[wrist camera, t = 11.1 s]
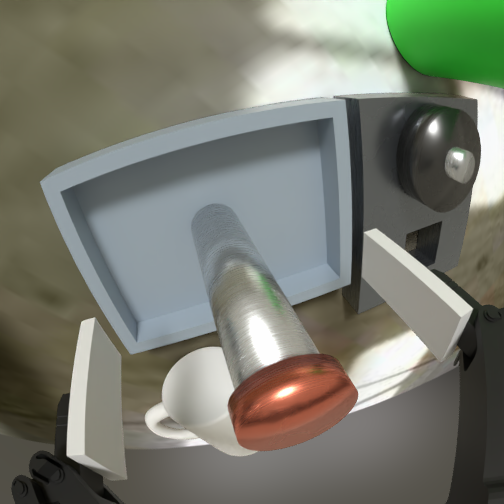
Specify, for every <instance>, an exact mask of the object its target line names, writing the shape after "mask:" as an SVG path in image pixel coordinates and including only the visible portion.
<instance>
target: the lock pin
mask: <svg viewBox="0 0 504 504" xmlns="http://www.w3.org/2000/svg"><path fill="white" fill-rule="evenodd" d="M191 232H192V236H193V241H194V245H195V249H196V253H197V257H198V261H199V265H200V269H201V273H202V277H203V281H204V285H205V289H206V293H207V296H208V300H209V304H210V308H211V311H212V315H213V319H214V322H215V326H216V329H217V333H218V336H219V340H220V343H221V347H222V350H223V354H224V357H225V360H226V364H227V367H228V370H229V374H230V377H231V380H232V383H233V387H234V392H233V393H232V394H231V396H230V398H229V401H228V405H227V406H228V412H229V415H230V419H231V422H232V425H233V429H234V432H235V435H236V438H237V441H238V444H239V445H240V446H242V447H243V448H245V449H248V450H254V451H270V450H277V449H282V448H287V447H290V446H293V445H297V444H300V443H302V442H305V441H307V440H310V439H312V438H314V437H316V436H318V435H320V434H321V433H323V432H325V431H327V430H328V429H330V428H331V427H333V426H334V425H335V424H337V423H338V422H339V421H341V420H342V419H343V418H344V417H345V416H346V415H347V414H348V413H349V412H350V411H351V410H352V408H353V407H354V405H355V403H356V401H357V399H358V391H357V390H356V388H355V386H354V385H353V383H352V381H351V380H350V378H349V377H348V375H347V374H346V372H345V370H344V369H343V367H342V366H341V364H340V362H339V361H338V360H337V359H336V358H334V357H332V356H330V355H326V354H320V353H319V351H318V350H317V348H316V346H315V345H314V343H313V341H312V340H311V338H310V336H309V334H308V333H307V331H306V329H305V328H304V326H303V324H302V323H301V321H300V319H299V318H298V316H297V314H296V313H295V311H294V309H293V308H292V306H291V304H290V303H289V301H288V299H287V298H286V296H285V294H284V293H283V291H282V289H281V288H280V286H279V284H278V283H277V281H276V279H275V278H274V276H273V274H272V273H271V271H270V269H269V268H268V266H267V264H266V263H265V261H264V260H263V258H262V256H261V255H260V253H259V251H258V250H257V248H256V246H255V245H254V243H253V241H252V240H251V238H250V236H249V235H248V233H247V231H246V230H245V228H244V226H243V225H242V223H241V221H240V220H239V218H238V217H237V215H236V213H235V212H234V211H233V210H232V209H231V208H230V207H228V206H226V205H224V204H219V203H215V204H209V205H206V206H204V207H203V208H201V209H200V210H199V211H198V212H197V213H196V214H195V215H194V217H193V219H192V222H191Z"/></svg>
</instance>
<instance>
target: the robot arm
mask: <svg viewBox="0 0 504 504" xmlns="http://www.w3.org/2000/svg"><path fill="white" fill-rule="evenodd" d="M362 278H363V279H364V280H365V281H366V282H367V283H368V284H369V285H370V286H371V287H372V288H373V289H374V290H375V291H376V292H377V293H378V294H379V295H380V296H381V297H382V298H383V299H384V300H385V301H386V302H387V304H388V305H389V306H390V307H391V308H392V309H393V310H394V311H395V312H396V313H397V314H398V315H399V316H400V317H401V319H402V320H403V321H404V322H405V323H406V324H407V325H408V326H409V327H410V328H411V329H412V331H413V332H414V333H415V334H416V335H417V336H418V337H419V338H420V339H421V341H422V342H423V343H424V344H425V345H426V346H427V347H428V348H429V350H430V351H431V352H432V353H433V354H434V355H435V357H436V358H437V359H438V360H439V361H440V362H442V361H444V360H445V359H447V358H448V357H449V356H451V355H452V354H453V352H454V350H455V348H456V346H458V347H459V348H460V349H461V350H460V351H459V353H458V355H457V357H456V359H455V361H454V366H456V364H457V362H458V361H459V366H460V406H459V425H458V437H457V448H456V457H455V463H454V471H453V476H452V482H451V488H450V493H449V497H448V500H447V502H446V504H504V308H501V309H498V308H497V307H495V306H493V305H484V306H482V305H480V304H479V303H478V302H477V301H476V300H475V299H474V298H472V297H471V296H470V295H469V294H468V293H467V292H466V291H464V290H463V289H462V288H461V287H460V286H458V284H456V283H455V282H454V281H452V279H450V278H449V277H448V276H447V275H446V274H444V273H443V272H440V271H438V270H436V269H432V270H428V269H427V268H426V267H425V266H424V265H422V264H421V263H420V262H419V261H417V260H416V259H415V258H414V257H413V256H411V255H410V254H409V253H408V252H406V251H405V250H404V249H402V248H401V247H400V246H399V245H397V244H396V243H395V242H393V241H392V240H391V239H390V238H388V237H387V236H386V235H384V234H383V233H382V232H380V231H379V230H378V229H376V228H375V229H372V230H369V231H366V232H364V241H363V262H362ZM57 417H58V418H57V421H56V425H57V427H56V434H55V455H54V456H53V455H52V454H50V453H49V452H46V451H39V452H37V453H35V454H34V455H33V457H32V458H31V460H30V464H29V471H30V474H31V477H32V478H33V479H30V478H28V477H26V476H23V475H19V476H17V477H16V478H15V479H14V480H13V482H12V488H11V489H12V495H13V498H14V501H15V504H124V503H123V502H122V501H121V500H120V499H119V498H118V497H117V496H116V495H115V494H114V493H113V492H112V491H111V490H110V489H109V488H108V487H107V486H106V485H105V484H103V477H105V478H106V479H109V480H110V481H114V480H126V479H127V473H126V463H125V453H124V441H123V426H122V403H121V355H120V353H119V352H118V350H117V349H116V348H115V346H114V345H113V343H112V342H111V340H110V339H109V338H108V336H107V335H106V333H105V332H104V330H103V329H102V327H101V326H100V324H99V323H98V321H97V319H96V318H91V319H88V320H84V321H82V322H81V327H80V332H79V337H78V343H77V348H76V355H75V361H74V368H73V375H72V383H71V392H70V393H68V394H63V395H62V397H61V400H60V402H59V404H58V410H57Z"/></svg>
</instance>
